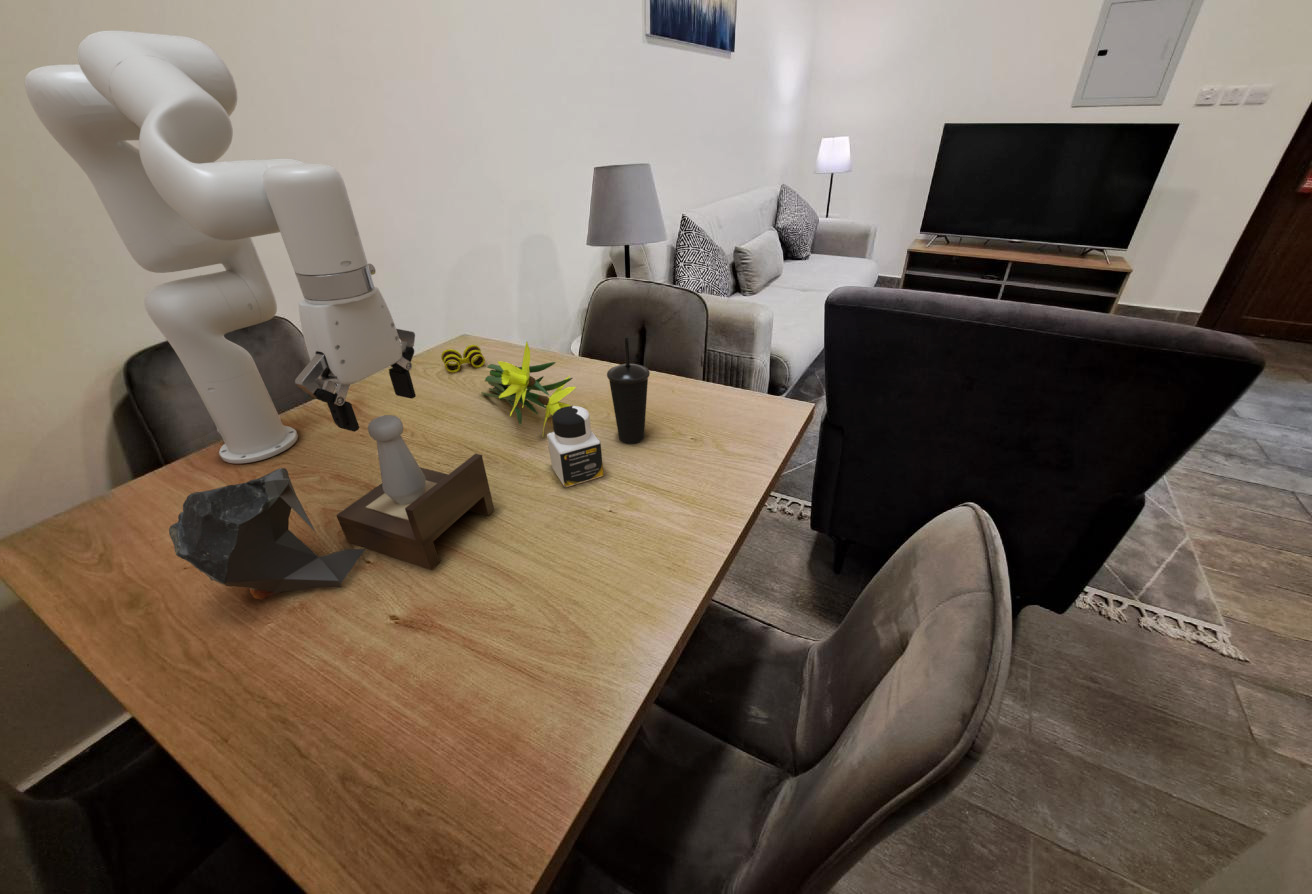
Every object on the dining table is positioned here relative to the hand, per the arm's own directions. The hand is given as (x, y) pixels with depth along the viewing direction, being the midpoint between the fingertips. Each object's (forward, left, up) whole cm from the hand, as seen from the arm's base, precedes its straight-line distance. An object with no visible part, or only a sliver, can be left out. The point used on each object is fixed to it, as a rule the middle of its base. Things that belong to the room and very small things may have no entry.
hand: (379, 411), depth 71 cm
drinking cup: (+20, +35, -20) cm, 45 cm away
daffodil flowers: (-6, +35, -20) cm, 40 cm away
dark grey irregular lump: (-7, -16, -20) cm, 26 cm away
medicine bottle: (+16, +21, -20) cm, 33 cm away
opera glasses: (-34, +52, -20) cm, 65 cm away
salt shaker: (0, 0, -14) cm, 14 cm away
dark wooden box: (+1, 0, -19) cm, 19 cm away
